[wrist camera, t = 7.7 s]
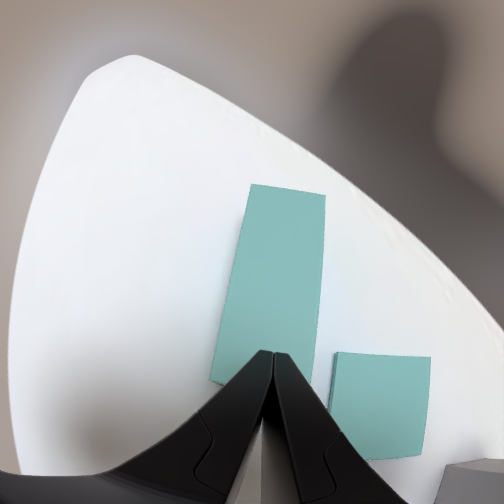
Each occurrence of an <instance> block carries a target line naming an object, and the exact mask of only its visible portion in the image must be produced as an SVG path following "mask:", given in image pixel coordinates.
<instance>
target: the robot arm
mask: <svg viewBox="0 0 504 504" xmlns="http://www.w3.org/2000/svg"><path fill="white" fill-rule="evenodd" d="M262 418H263V420H262ZM261 422H262V464H261V504H408V503H407V502H406V501H405V500H403V499H402V498H401V497H400V496H399V495H398V494H397V493H396V492H395V491H394V490H393V489H392V488H391V487H390V486H389V485H388V484H387V483H386V482H385V481H384V480H383V479H382V478H381V477H380V476H379V475H378V474H377V473H376V472H375V471H374V470H373V469H372V468H371V466H370V465H369V464H368V463H367V462H366V461H365V460H364V459H363V458H362V456H361V455H360V454H359V453H358V452H357V450H356V449H355V448H354V446H353V445H352V444H351V443H350V441H349V440H348V438H347V437H346V436H345V434H344V433H343V432H342V431H341V429H340V427H339V426H338V425H337V423H336V422H335V420H334V419H333V417H332V416H331V415H330V413H329V412H328V410H327V409H326V407H325V406H324V405H323V403H322V402H321V400H320V399H319V397H318V396H317V394H316V393H315V392H314V390H313V389H312V387H311V386H310V384H309V383H308V381H307V380H306V378H305V377H304V375H303V374H302V373H301V371H300V370H299V368H298V367H297V365H296V364H295V362H294V361H293V359H292V358H291V356H290V355H289V354H288V353H282V352H275V353H273V352H272V351H268V350H261V349H260V350H258V351H257V352H256V353H255V355H254V356H253V357H252V358H251V359H250V360H249V361H248V362H247V363H246V364H245V365H244V366H243V367H242V368H241V369H240V370H239V371H238V372H237V373H236V374H235V375H234V376H233V377H232V378H231V379H230V380H229V381H228V382H227V383H226V384H225V385H224V386H223V387H222V388H221V389H220V390H219V391H218V392H217V393H216V394H215V395H214V396H212V397H211V398H210V399H209V400H208V401H207V402H206V403H205V404H204V405H203V406H202V407H201V408H200V409H199V410H198V411H197V412H195V413H194V414H193V415H192V416H191V417H190V418H189V419H188V420H187V421H185V422H184V423H183V424H182V425H181V426H180V427H178V428H177V429H176V430H175V431H173V432H172V433H171V434H169V435H168V436H166V437H165V438H163V439H162V440H160V441H159V442H158V443H156V444H154V445H153V446H151V447H150V448H148V449H146V450H145V451H143V452H141V453H140V454H138V455H136V456H135V457H133V458H131V459H130V460H128V461H126V462H124V463H123V464H121V465H119V466H117V467H115V468H113V469H111V470H109V471H106V472H103V473H99V474H95V475H85V476H31V475H17V474H12V473H7V472H4V471H1V470H0V504H234V503H235V500H236V497H237V495H238V492H239V489H240V486H241V484H242V481H243V478H244V475H245V472H246V469H247V466H248V463H249V460H250V457H251V454H252V451H253V448H254V445H255V442H256V439H257V436H258V433H259V430H260V426H261Z"/></svg>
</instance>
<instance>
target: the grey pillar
mask: <svg viewBox="0 0 504 504" xmlns="http://www.w3.org/2000/svg"><path fill="white" fill-rule="evenodd" d="M434 504H504V459H487V458H485V459H480V460H475V461H469V462H463V463H457V464H450V465H446V468H445V472H444V475H443V479H442V482H441V485H440V488H439V491H438V494H437V497H436V500H435V503H434Z"/></svg>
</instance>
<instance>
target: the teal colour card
mask: <svg viewBox="0 0 504 504" xmlns="http://www.w3.org/2000/svg"><path fill="white" fill-rule="evenodd" d="M430 364H431V357H410V356H387V355H371V354H357V353H346V352H337V353H335V359H334V368H333V377H332V385H331V393H330V400H329V407H328V412H329V413H330V415H331V416H332V417H333V419H334V420H335V422H336V423H337V425H338V426H339V427H340V429H341V431H342V432H343V433H344V434H345V436H346V437H347V438H348V440H349V441H350V443H351V444H352V445H353V446H354V448H355V449H356V450H357V452H358V453H359V454H360V455H361V456H362V458H363V459H364V460H379V459H391V458H401V457H409V456H417V455H421V451H422V446H423V439H424V433H425V426H426V418H427V408H428V398H429V385H430Z"/></svg>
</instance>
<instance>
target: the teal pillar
mask: <svg viewBox="0 0 504 504" xmlns="http://www.w3.org/2000/svg"><path fill="white" fill-rule="evenodd" d="M325 197H326V195H321V194H316V193H310V192H304V191H298V190H291V189H285V188H278V187H271V186H264V185H257V184H251V188H250V192H249V196H248V201H247V205H246V210H245V214H244V219H243V223H242V227H241V232H240V236H239V241H238V246H237V250H236V255H235V259H234V264H233V268H232V273H231V278H230V282H229V287H228V292H227V296H226V301H225V306H224V310H223V315H222V320H221V325H220V329H219V334H218V339H217V344H216V349H215V354H214V359H213V364H212V368H211V373H210V378H209V380H210V381H213V382H215V383H218V384H222V385H225V384H226V383H227V382H228V381H229V380H230V379H231V378H232V377H233V376H234V375H235V374H236V373H237V372H238V371H239V370H240V369H241V368H242V367H243V366H244V365H245V364H246V363H247V362H248V361H249V360H250V359H251V358H252V357H253V356H254V355H255V353H256V352H257V351H258V350H260V349H261V350H268V351H272V352H273V353H275V352H282V353H288V354H289V355H290V356H291V358H292V359H293V361H294V362H295V364H296V365H297V367H298V368H299V370H300V371H301V373H302V374H303V375H304V377H305V378H306V380H307V381H308V383H309V384H310V382H311V375H312V368H313V360H314V352H315V343H316V334H317V324H318V314H319V303H320V292H321V279H322V264H323V248H324V227H325Z"/></svg>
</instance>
